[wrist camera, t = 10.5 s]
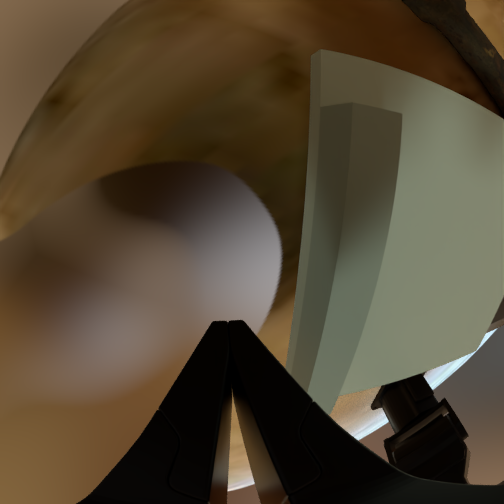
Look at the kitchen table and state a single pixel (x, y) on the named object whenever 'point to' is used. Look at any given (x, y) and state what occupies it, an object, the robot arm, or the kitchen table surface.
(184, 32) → the kitchen table surface
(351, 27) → the kitchen table surface
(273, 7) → the kitchen table surface
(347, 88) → the lid
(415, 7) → the dark brown rough bar
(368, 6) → the kitchen table surface
